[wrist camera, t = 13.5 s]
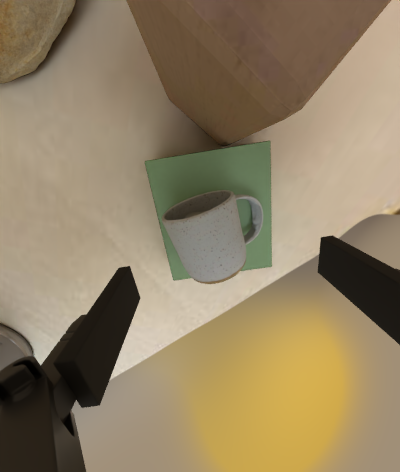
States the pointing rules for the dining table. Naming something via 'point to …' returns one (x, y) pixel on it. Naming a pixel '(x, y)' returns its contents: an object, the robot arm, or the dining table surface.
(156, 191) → the green block
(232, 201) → the ceramic mug
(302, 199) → the dining table surface
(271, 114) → the wooden block
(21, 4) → the rough brown rock
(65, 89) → the dining table surface
